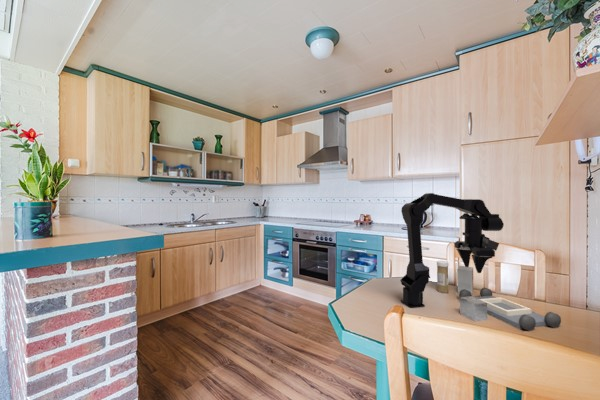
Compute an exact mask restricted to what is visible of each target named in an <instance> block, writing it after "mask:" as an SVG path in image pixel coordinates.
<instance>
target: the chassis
mask: <svg viewBox="0 0 600 400" xmlns="http://www.w3.org/2000/svg"><path fill="white" fill-rule="evenodd" d="M458 296H459V298H460V297H470V296H473V295H471V292H470V291H468V290H465V289H463V290H461V291H460V293H458ZM474 297H475V298H477V299H480V300H482V301H484V302H486V303H487V315H489V316H491V317H493V318H496V319H497V320H499V321H502V322H504V323H506V324H508V325H510V326H512V327H514V328H517V329H518V330H521V329H522V330H523V329H524V330H525V331H528V332H531V331H533V330H535V328H539V327H551V328H554V329H557V328H558V327H560V325H561V323H562V318H561V316H560V315H559V313H555V312H553V311H548V312H546V314H544V315H543V314H540V313H537V312H536V311H535V312H534V311H532V308H529V307H526V306H525V305H521V304H519V303H516V302H514V301H512V300H509V299H506V298H504V297H499V296H498V297H497V296H494V295H493V291H492V290H491V289H490V288H488V287H483V288H481V289H480V291H479V296H474Z"/></svg>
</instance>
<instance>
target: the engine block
mask: <svg viewBox="0 0 600 400" xmlns="http://www.w3.org/2000/svg"><path fill="white" fill-rule="evenodd" d="M475 297H476V296H473V295H472V296H470V297H459V307H460V308H459V309H460V311H459V312H460V315H462V316H463V317H465V318H467V319H469V320H471V321H472V322H483V321H488V314H487V303H486V302H484V301H482V300H480V299H477V298H475Z"/></svg>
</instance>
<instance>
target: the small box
mask: <svg viewBox="0 0 600 400" xmlns="http://www.w3.org/2000/svg"><path fill="white" fill-rule="evenodd" d="M456 270H457V273H456V275H457V277H456V278H457V279H456V280H457V293H458V294H459V293H460V291H461V290H463V289H465V290H468V291H470V292H471V295H472V296H473V294H474V267H473V266H469V267H465V265H459V266H458V268H457V269H456Z"/></svg>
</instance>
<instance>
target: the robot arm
mask: <svg viewBox="0 0 600 400" xmlns="http://www.w3.org/2000/svg"><path fill="white" fill-rule="evenodd" d="M432 205H437V206H443V207H447V208H452V209H455V210H458V211H460V212H462V213H463V214H462V215H460V216H459V219H460V220H464V231H463V232H462V236H464V241H462V240H457V241H455V242H454V248H455V250H456V251H457V253H458V255H459V256H460V259H461V260H462V262H463V264H464V265H463V266H465V267H470V263H471V262H470V261H471V259H472V261H473V264H474V266H475V270H476V273H477V274H481V273H482V271H483V268H484V267H485V265H486V262H487V260H488V261H489V260H490V259H493V257H494V258H495V256H496V251H497V250H498V247H499V245H500V243H499V242H497V241H495V240H492V239H490V237H487V236H486V235H485V234H484V233H483V232H484V231H485V232H499V231H500V232H501V231H502V230H503V229H504V221H503V220H502V218H501V217H500V214H499V213H491V212H490V210H489V209H488V207H487V205H486V203H485V201H484V200H483V199H477V198H475V199H473V198H469V199H467V198H466V199H461V198H456V197H451V196H446V195H441V194H435V193H433V192H430V193H429V192H426V193H424V194H423V195H421V196H420V197H418V198H416V199H414V200H412V201H410V202H408V203H405V204H404V205H402V206H401V215H402V218H403V220H404V223H405V224H406V230H407V231H406V232H407V243H408V259H409V261H408V264H407V266H406V273H405V275H404V276H403V277H401V279H400V284H401V285H402V286H403V287H402V299H401V300H400V302H401V303H403V304H404V305H406V306H407V307H408V308H419V307H420V308H421V307H422V308H423V307H425V306H426V305H425V304H424V292H425V289H426V285H427V284H428V283H430V282H429V280H430V279H431V276H430V267H428V266H427V265H425V263H424V261H423V249H422V236H421V235H422V233H421V224H422V221H423V220H424V213H425V212H426V211H428V210H429V209H430V208H431V206H432Z"/></svg>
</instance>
